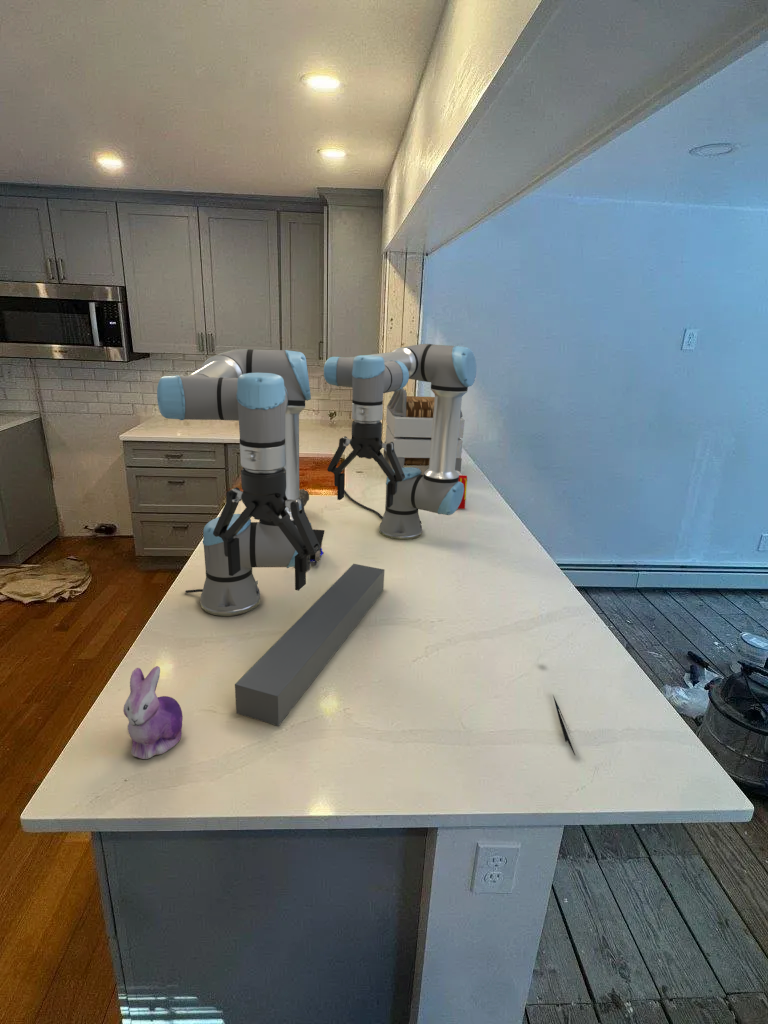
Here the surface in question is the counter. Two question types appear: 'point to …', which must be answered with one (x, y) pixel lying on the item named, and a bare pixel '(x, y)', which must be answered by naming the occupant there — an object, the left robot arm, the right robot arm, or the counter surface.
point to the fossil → (304, 496)
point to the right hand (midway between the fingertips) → (364, 502)
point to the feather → (563, 726)
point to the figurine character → (318, 554)
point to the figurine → (151, 716)
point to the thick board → (307, 646)
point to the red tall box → (464, 480)
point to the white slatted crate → (414, 429)
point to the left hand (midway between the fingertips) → (267, 579)
